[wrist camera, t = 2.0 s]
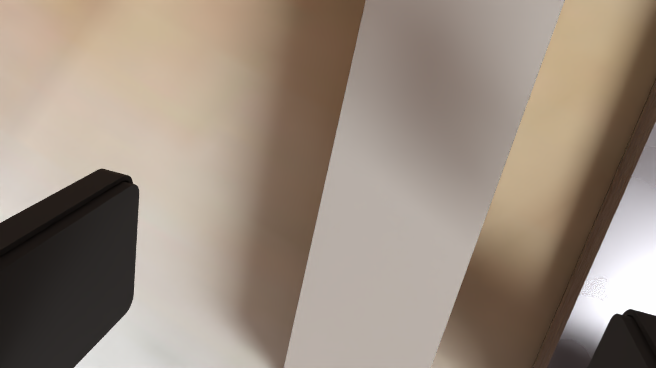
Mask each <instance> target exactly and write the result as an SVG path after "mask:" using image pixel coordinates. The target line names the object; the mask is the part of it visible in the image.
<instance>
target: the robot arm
mask: <svg viewBox="0 0 656 368" xmlns="http://www.w3.org/2000/svg"><path fill="white" fill-rule="evenodd" d="M138 205H139V189H138V186H137V185H135V184H133V182H132V178H131V177H130V176H128V175H124V174H121V173H117V172H113V171H109V170H105V169H99V170H97V171H95V172H93V173H91V174H89V175H88V176H86V177H84V178H82V179H80V180H78V181H77V182H75V183H73V184H71V185H69V186H67V187H66V188H64V189H62V190H60V191H58V192H56V193H55V194H53V195H51V196H49V197H47V198H45V199H43V200H42V201H40V202H38V203H36V204H34V205H32V206H31V207H29V208H27V209H25V210H23V211H21V212H20V213H18V214H16V215H14V216H12V217H10V218H8V219H7V220H5V221H3V222H1V223H0V368H74V367H75V366H76V365H77V364H78V363H79V362H80V361H81V359H82V358H83V357H84V356H85V355H86V354H87V353H88V352H89V351H90V350H91V349H92V348H93V347H94V346H95V345H96V344H97V343H98V342H99V341H100V340H101V339H102V338H103V337H104V336H105V335H106V334H107V333H108V331H109V330H110V329H111V328H112V327H113V326H114V325H115V324H116V323H117V322H118V321H119V320H120V319H121V318H122V317H123V316H124V315H125V314H126V313H127V311H128V310H129V308H130V306H131V303H132V300H133V295H134V278H135V259H136V241H137V223H138ZM587 368H656V315H652V314H648V313H644V312H641V311H637V310H633V309H628V310H626V311H625V312H624V313H623V314H622V315H621V314H618V313H617V314H614V315H613V316H612V318H611V319H610V321H609V323H608V325H607V327H606V329H605V332H604V334H603V336H602V338H601V340H600V342H599V344H598V346H597V348H596V351H595V353H594V355H593V357H592V359H591V361H590V363H589V365H588V367H587Z"/></svg>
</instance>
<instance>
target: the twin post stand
mask: <svg viewBox="0 0 656 368" xmlns="http://www.w3.org/2000/svg"><path fill="white" fill-rule="evenodd" d="M628 309H633V310H637V311H641V312H644V313H648V314H652V315H656V80H655V83H654V85H653V87H652V90H651V92H650V94H649V97H648V99H647V101H646V104H645V106H644V108H643V111H642V113H641V115H640V118H639V120H638V122H637V125H636V127H635V129H634V132H633V134H632V136H631V139H630V141H629V143H628V146H627V148H626V150H625V153H624V155H623V157H622V160H621V162H620V165H619V167H618V169H617V172H616V174H615V176H614V179H613V181H612V183H611V186H610V188H609V190H608V193H607V195H606V197H605V200H604V202H603V204H602V207H601V209H600V211H599V214H598V216H597V218H596V221H595V223H594V225H593V228H592V230H591V232H590V235H589V237H588V239H587V242H586V244H585V246H584V249H583V251H582V253H581V256H580V258H579V260H578V263H577V265H576V267H575V270H574V272H573V274H572V277H571V279H570V281H569V284H568V286H567V288H566V291H565V293H564V295H563V298H562V300H561V302H560V305H559V307H558V309H557V312H556V314H555V316H554V319H553V321H552V323H551V326H550V328H549V330H548V333H547V335H546V337H545V340H544V342H543V344H542V347H541V349H540V351H539V354H538V356H537V358H536V361H535V363H534V365H533V368H587V367H588V365H589V363H590V361H591V359H592V357H593V355H594V353H595V351H596V348H597V346H598V344H599V342H600V340H601V338H602V336H603V334H604V332H605V329H606V327H607V325H608V323H609V321H610V319H611V318H612V316H613V315H614V314H617V313H618V314H621V315H622V314H623V313H624V312H625V311H626V310H628Z"/></svg>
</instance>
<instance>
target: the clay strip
mask: <svg viewBox="0 0 656 368" xmlns="http://www.w3.org/2000/svg"><path fill="white" fill-rule="evenodd" d="M564 1H565V0H366V1H365V6H364V10H363V15H362V19H361V24H360V28H359V33H358V37H357V42H356V46H355V51H354V55H353V60H352V64H351V69H350V73H349V77H348V82H347V86H346V91H345V95H344V100H343V104H342V109H341V113H340V118H339V122H338V127H337V131H336V136H335V140H334V145H333V149H332V154H331V158H330V163H329V167H328V172H327V176H326V181H325V185H324V190H323V194H322V198H321V203H320V207H319V212H318V216H317V221H316V225H315V230H314V234H313V239H312V243H311V248H310V252H309V257H308V261H307V266H306V270H305V275H304V279H303V284H302V288H301V293H300V297H299V302H298V306H297V310H296V315H295V319H294V324H293V328H292V333H291V337H290V342H289V346H288V351H287V355H286V360H285V364H284V368H431V366H432V364H433V361H434V358H435V355H436V353H437V350H438V347H439V344H440V342H441V339H442V336H443V333H444V331H445V328H446V325H447V322H448V320H449V317H450V314H451V311H452V309H453V306H454V303H455V300H456V298H457V295H458V292H459V289H460V287H461V284H462V281H463V278H464V276H465V273H466V270H467V267H468V265H469V262H470V259H471V256H472V254H473V251H474V248H475V245H476V243H477V240H478V237H479V234H480V232H481V229H482V226H483V223H484V221H485V218H486V215H487V212H488V210H489V207H490V204H491V201H492V199H493V196H494V193H495V191H496V188H497V185H498V182H499V180H500V177H501V174H502V171H503V169H504V166H505V163H506V160H507V158H508V155H509V152H510V149H511V147H512V144H513V141H514V138H515V136H516V133H517V130H518V127H519V125H520V122H521V119H522V116H523V114H524V111H525V108H526V105H527V103H528V100H529V97H530V94H531V92H532V89H533V86H534V83H535V81H536V78H537V75H538V72H539V70H540V67H541V64H542V61H543V59H544V56H545V53H546V50H547V48H548V45H549V42H550V39H551V37H552V34H553V31H554V28H555V26H556V23H557V20H558V17H559V15H560V12H561V9H562V6H563V4H564Z"/></svg>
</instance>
